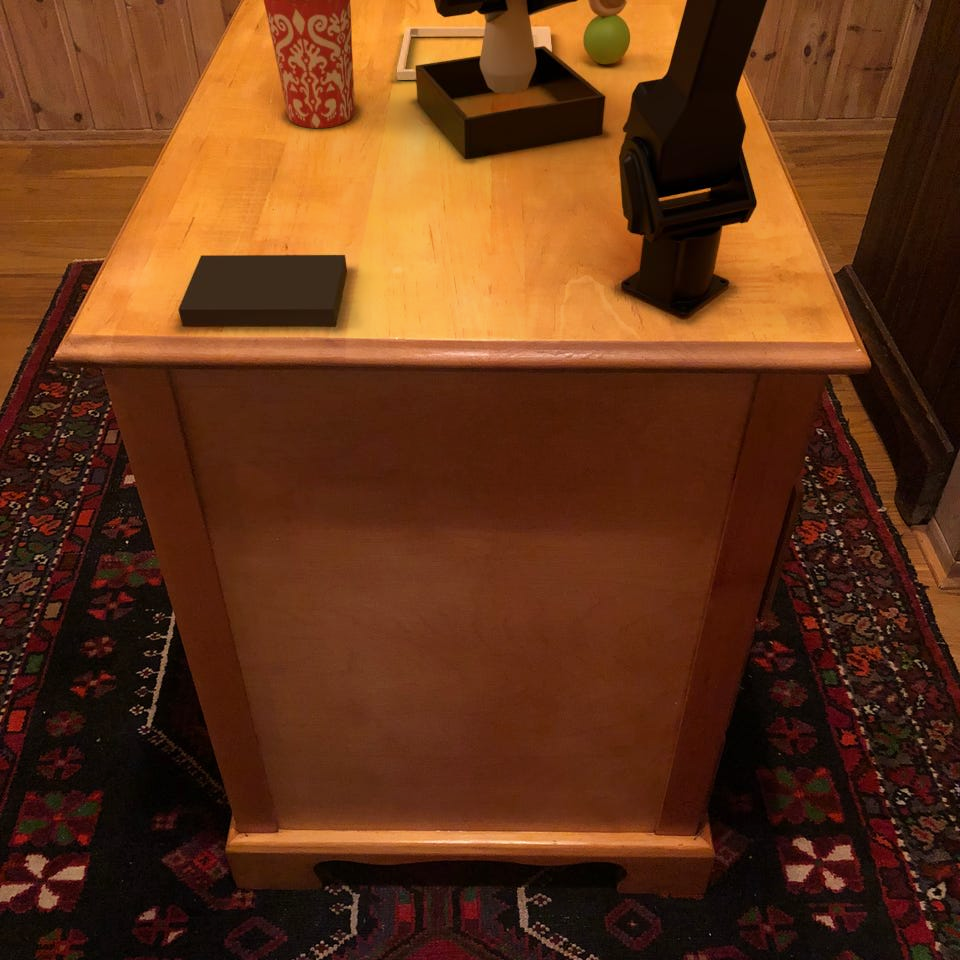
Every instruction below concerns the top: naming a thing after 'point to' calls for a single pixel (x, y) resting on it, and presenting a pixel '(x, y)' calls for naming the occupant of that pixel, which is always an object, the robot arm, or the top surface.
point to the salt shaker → (509, 50)
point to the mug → (314, 59)
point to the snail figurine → (606, 32)
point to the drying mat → (264, 290)
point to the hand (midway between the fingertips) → (503, 15)
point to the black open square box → (512, 127)
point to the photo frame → (539, 35)
